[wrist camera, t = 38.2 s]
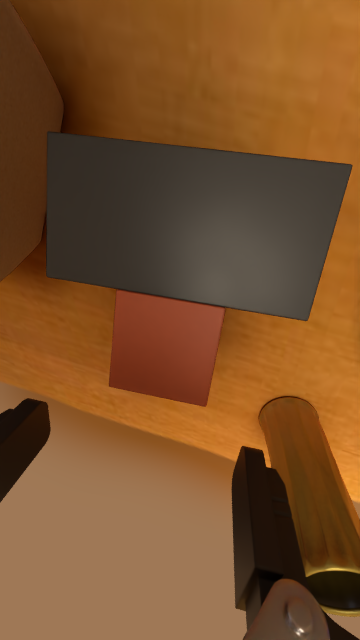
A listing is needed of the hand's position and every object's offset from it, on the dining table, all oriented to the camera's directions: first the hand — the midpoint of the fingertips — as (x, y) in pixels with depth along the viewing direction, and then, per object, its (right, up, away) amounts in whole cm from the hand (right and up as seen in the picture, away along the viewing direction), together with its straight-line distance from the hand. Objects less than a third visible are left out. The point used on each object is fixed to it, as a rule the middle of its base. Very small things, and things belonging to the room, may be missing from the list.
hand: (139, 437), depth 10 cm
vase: (+14, -6, +18) cm, 23 cm away
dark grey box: (+3, +13, +5) cm, 14 cm away
